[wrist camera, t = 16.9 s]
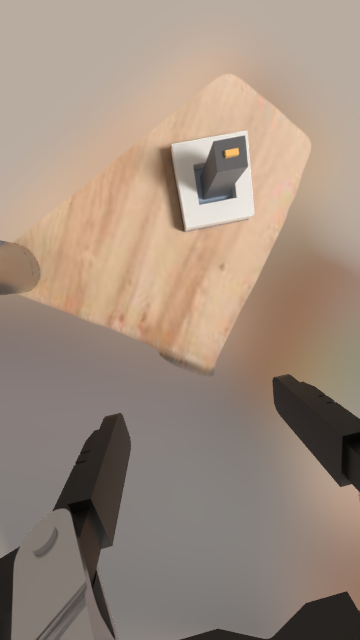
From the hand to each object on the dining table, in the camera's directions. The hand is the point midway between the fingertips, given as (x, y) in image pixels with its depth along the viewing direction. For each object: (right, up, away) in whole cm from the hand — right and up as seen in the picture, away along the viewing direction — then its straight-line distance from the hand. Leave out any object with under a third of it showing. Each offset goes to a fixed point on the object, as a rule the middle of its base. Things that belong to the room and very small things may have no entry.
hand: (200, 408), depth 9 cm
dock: (+5, +29, +24) cm, 39 cm away
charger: (+5, +29, +24) cm, 38 cm away
